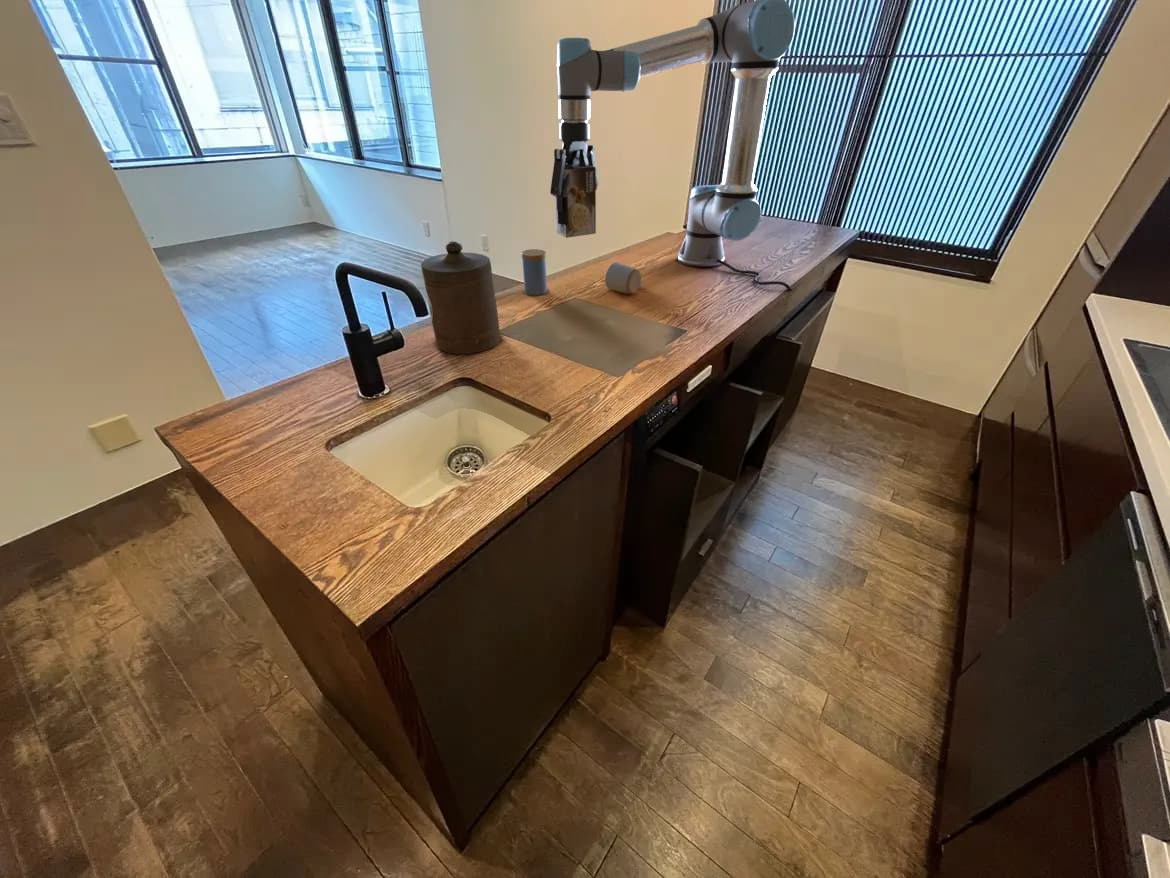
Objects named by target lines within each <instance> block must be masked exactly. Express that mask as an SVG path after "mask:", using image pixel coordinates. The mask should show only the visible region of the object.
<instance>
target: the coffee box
mask: <svg viewBox="0 0 1170 878" xmlns="http://www.w3.org/2000/svg"><path fill="white" fill-rule="evenodd" d="M596 171H597V166H596V167H594V166H589V165H587V166H582V165H577V166H575V168H574V169H564V175H563V178H564V179H565V178H566V176H567V174H568V173H569V184H568V188H567V191H566V195H565V197H568V225H562V224H558V211H557V198H556V196H554V202H555V203H554V204H555V222H556V225H555V226H556V233H557V235H560V236H562V237H564V238H565V239H567V238H575V237H581V236H589V235H595V234H596V233H597V227H596V226H597V217H596V216H597V196H596V195H597V192H596V191H597V190H596ZM555 190H556V189H555ZM561 191H562V190H561Z"/></svg>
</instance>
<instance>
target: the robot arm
mask: <svg viewBox="0 0 1170 878" xmlns="http://www.w3.org/2000/svg"><path fill="white" fill-rule="evenodd" d="M795 27H796V21H795V15H794V11H793V9H791V6H790V4H789V3H788V2H787V0H752V1H749V2H745V3H739V4H737V5H734V6H732V7H730V8H727V9H725V10H723V11H721V12H718V13H716V14H714V15H711V16H708V17H705V18H701V19H700V20H699V21H698V22H697V24H696V25H694V26H689V27H686V28H684V29H678V30H675V31H672V32H667V33H664V34H661V35H656V36H653V37H650V38H646V39H643V40H642V39H641V40H639V41H635V42H631V43H627V44H624V45H620V46H616V47H613V48H610V49H606V50H597V49H592V46H591V45H592V44H591V40H590V39H589V38H586V37H564V38H561V39H560V40H559V41H558V42H557V52H556V57H557V58H556V67H557V68H556V69H557V86H558V87H557V88H558V91H557V92H558V119H559V120H560V121H561V122H559V124H558V132H559V133H558V136H559V140H560V141H562V147H561V148H555V149H554V150H553V156H554V157H553V158H554V160H553V161H554V162H553V168H552V177H551V184H550V190H549V191H550V195H552V196H553V197H555V196H556V198H557V211H558V224H562V225H568V197H565V195H566V191H567V188H568V184H569V173H568V174H567V176H566V178H565V179H564V178H563V175H564V169H574V168H575V166H577V165H582V166H587V165H589V166H594V167H596V168H597V165H596V159H595V145H594V144H587V142H588V141H590V140H591V124H590V122H589V121H590V120H591V92H599V91H600V92H623V93H624V92H628V91H633V90H635V89H636V88H637V87H638V84H639V82H640V79H642V78H645V77H650V76H653V75H657V74H660V73H664V72H667V71H671V70H674V69H678V68H682V67H685V66H688V65H689V66H690V65H693V64H696V63H699V64H700V65H702V66H706V65H709V64H713V63H714V64H715V63H731V65H730V72H731V74H732V75H733V77H734V79H735V81H734V89H733V97H732V103H731V104H732V105H731V111H730V119H729V126H728V134H727V141H726V149H725V156H724V164H723V170H722V171H723V173H722V180H721V182H720V183H719V184H708V185H707V184H706V185H696V186H693V187H692V189H691V191H690V196H689V198H688V201H689V204H688V213H687V223H686V224H687V225H686V232H685V237H684V240H683V242H682V244H681V247H680V249H679V252H678V255H677V261H678V262H679V263H681V264H683V265H685V266H690V267H696V268H713V267H717V266H721V265H723V266H725V267H726V268H727V269H729V270H731V271H732V272H735V273H739V274H746V275H747V274H748V275H755V276H756V277H754V279H753V283H755V284H757V285H760V286H769V285H770V286H771V285H780V286H783V287H785V288H786V289H787V290H788V291H793V289H792V287H791V286H790V285H789V284H788V283H786V282H784V281H778V280H773V281H759V279H760V278H761V273H760V272H758V271H755V270H743V269H738V268H735V267H733V265H731V264H729V263H727V262H725V251H724V244H723V239H724V240H725V239H726V240H730V241H733V242H734V241H735V242H736V241H742V240H744V239H746V238H748V237H750V235H751V234H752V233H753V232H755V230H756V229H757V227H758V225H759V224H760V221H761V218H762V208H761V206H760V204H759V202H758V201H757V200H756V199H757V194H758V188H757V187H756V185H755V184H754V178H755V173H756V167H757V161H758V154H759V148H760V142H761V136H762V129H763V125H764V119H765V112H766V108H767V107H766V105H767V99H768V94H769V88H770V82H771V78H772V76H773V75H775V73H776V72H777V71H778V70H779V65H780V61H781V57H783V56H784V55H785V54H786V52H787V50H788V49H790V47H791V45H792V42H793V40H794V37H795V29H796V28H795ZM598 186H599V177H598V172H597V170H596V191H597V189H598ZM555 189H556V190H555ZM561 190H562V191H561Z"/></svg>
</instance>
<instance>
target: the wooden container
mask: <svg viewBox="0 0 1170 878" xmlns="http://www.w3.org/2000/svg"><path fill="white" fill-rule="evenodd" d="M445 250H446V252H447V253H443V254H442V253H441V254H436V255H433V256H430V257H428V258H426V259H424V260H423V261H421V263H420V268H421V274H422V278H423V284H424V288H425V289H424V290H425V294H426V300H427V304H428V311H429V317H430V322H431V326H432V330H433V335H434V339H435V344H436V346H437V347H438V348H439V349H440V350H442V351H443V352H446V353H449V354H457V355H459V354H460V355H465V354H475V353H479V352H484V351H486V350H489V349H491V348H493V347H495V346H496V345H497V344H498V343H499V342H500V340H501V329H500V323H499V322H500V319H499V314H498V306H497V301H496V292H495V287H494V280H493V271H492V270H493V269H492V263H491V259H490V257H488V256H487V255H485V254H482V253H476V252H462V250H463V246H462V244H461V243H459V242H458V241H448V243H447V244H446V245H445Z"/></svg>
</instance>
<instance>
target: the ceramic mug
mask: <svg viewBox="0 0 1170 878" xmlns="http://www.w3.org/2000/svg"><path fill="white" fill-rule="evenodd" d="M604 278H605V280H604V281H605V282H604V283H605V286H606V288H607V289H608V290H610V291H613V292H618V293H622V294H626V295H633V294H635V293H636V292H637V291H638V290H639V288H641V286H642V283H643V282H642V273H641V271H640V270H639V269H637V268H635V267H633V266H630V265H627V264H624V263H621V262H618V261H614V262H612V263H611V264H610V265H609V267H608V268H607V269H606V273H605V277H604Z"/></svg>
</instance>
